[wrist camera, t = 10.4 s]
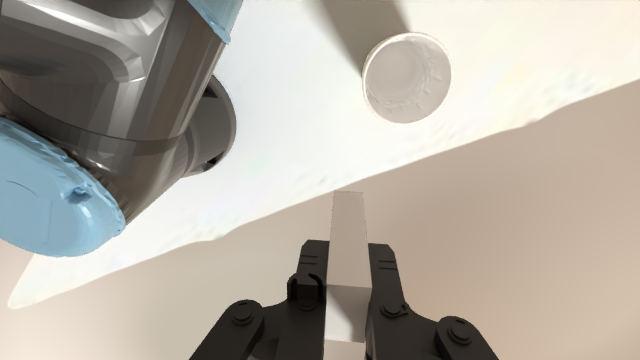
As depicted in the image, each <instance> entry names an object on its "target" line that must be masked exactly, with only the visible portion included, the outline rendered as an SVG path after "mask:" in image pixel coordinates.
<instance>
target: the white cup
mask: <svg viewBox="0 0 640 360" xmlns="http://www.w3.org/2000/svg"><path fill="white" fill-rule="evenodd" d="M453 76H454V71H453V64H452V60H451V57H450V55H449V53H448V51H447V49H446V48H445V47H444V46H443V44H442V43H441V42H439V41H438V40H437V39H435V38H434V37H432V36H430V35H427V34H424V33H419V32H407V33H402V34H398V35H394V36H391V37H389V38H387V39H385V40H383V41H381V42H379V43H378V44H377V45H376V46H375V47H374V48H373V49H371V51H370V53H369V54H368V56H367V58H366V60H365V62H364V66H363V71H362V89H363V95H364V98H365V101H366V103H367V105H368V107H369V108H370V109H371V111H372V112H373V113H374V114H375V115H376V116H377V117H379V118H380V119H382V120H384V121H386V122H388V123H391V124H395V125H410V124H415V123H418V122H421V121H423V120H425V119H427V118H428V117H430V116H431V115H433V114H434V113H435V112H436V111H437V110H438V109H439V108H440V107H441V106H442V105H443V103H444V102H445V100H446V99H447V97H448V95H449V93H450V90H451V87H452V83H453Z"/></svg>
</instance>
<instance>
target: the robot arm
mask: <svg viewBox="0 0 640 360" xmlns="http://www.w3.org/2000/svg"><path fill="white" fill-rule="evenodd" d="M242 3H243V0H0V238H1V239H3V240H5V241H7V242H9V243H11V244H13V245H15V246H17V247H19V248H22V249H25V250H27V251H30V252H33V253H37V254H41V255H45V256H52V257H64V256H65V257H76V256H81V255H85V254H88V253H90V252H92V251H94V250H96V249H97V248H99V247H100V246H101V245H103V244H104V243H105V242H107V241H108V240H110V239H111V238H112V237H115V236H118V235H120V234H121V232H122V231H123V230H124V229H125V226H127V225H128V224H129V223H130V222H131V221H132V220H133V219H134V218H136V217H137V216H138V215H139V214H140V213H141V212H142V211H144V210H145V209H146V208H147V207H148V206H149V205H150V204H152V203H153V202H154V201H155V200H156V199H157V198H158V197H159V196H161V195H162V194H163V193H164V192H165V191H166V190H167V189H169V188H170V187H171V186H172V185H173V184H174V183H175V182H177V181H178V180H179V179H180V178H184V177H188V176H192V175H197V174H200V173H203V172H205V171H208V170H209V169H211V168H213V167H214V166H216V165H217V164H218V163H219V162H220V161H221V160H222V159H223V158H224V157H225V156H226V155H227V153H228V152H229V151H230V149H231V147H232V145H233V142H234V139H235V135H236V117H235V112H234V108H233V105H232V103H231V100H230V98H229V96H228V94H227V93H226V91H225V90H224V88H223V87H222V85H221V84H220V83H219V82H218V81H217V79H216V78H215V77H214V76H212V73H213V71H214V69H215V67H216V64H217V62H218V60H219V58H220V56H221V54H222V52H223V49H224V47H225V45H226V44H227V45H229V43H230V39H231V38H230V33H231V30H232V27H233V25H234V22H235V20H236V17H237V15H238V12H239V10H240V8H241V5H242ZM324 339H328V340H339V341H349V342H361V343H364V342H365V340H366V352H365V359H364V360H499V359H498V358H497V356H496V355H495V353H494V352H493V351H492V349H491V348H490V346H489V345H488V343H487V342H486V341H485V339H484V338H483V337H482V335H481V334H480V332H479V331H478V330H477V329H476V328H475V327H474V325H472V324H471V323H469V322H468V321H466V320H465V319H462V318H459V317H456V316H447V317H444V318H441V320H440V321H439V322H435V321H433V320H430V319H427V318H424V317H422V316H420V315H418V314H417V313H415V312H414V311H413V310H412V309H411V308H410V307H409V305H408V304H407V303H406V302H405V299H404V296H403V291H402V286H401V282H400V277H399V272H398V268H397V263H396V259H395V254H394V252H393V250H392V249H391V248H390V247H389V245H387V244H373V243H368V241H367V231H366V221H365V211H364V200H363V192H351V191H335V190H334V197H333V209H332V221H331V233H330V241H321V240H307V241H306V242H305V244H304V245H303V246H302V248H301V253H300V258H299V263H298V267H297V272H296V273H295V274H293V276H291V277H290V278H289V280H288V282H287V299H286V300H285V301H283V302H281V303H279V304H276V305H273V306H268V307H263V308H262V306H261V305H260V304H259V303H257V302H256V301H254V300H247V299H246V300H241V301H237V302H236V303H233V304H232V305H230V306H229V307H228V308H227V309H226V310H225V312H224V313H223V314H222V316H221V317H220V318H219V320H218V321H217V322H216V324H215V325H214V327H213V328H212V329H211V330H210V332H209V333H208V335H207V336H206V337H205V339H204V340H203V341H202V343H201V344H200V345H199V347H198V348H197V349H196V351H195V352H194V353H193V355H192V356H191V357H190V359H189V360H323V356H324Z"/></svg>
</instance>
